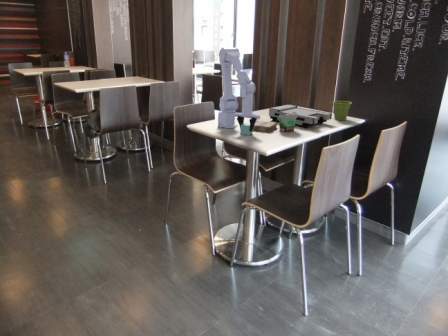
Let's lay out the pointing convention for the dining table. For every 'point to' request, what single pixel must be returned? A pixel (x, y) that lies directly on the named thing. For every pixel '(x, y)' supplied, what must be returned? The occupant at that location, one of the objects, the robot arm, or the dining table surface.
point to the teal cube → (245, 129)
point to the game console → (300, 115)
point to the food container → (287, 122)
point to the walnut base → (264, 126)
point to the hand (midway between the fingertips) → (246, 130)
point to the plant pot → (341, 109)
